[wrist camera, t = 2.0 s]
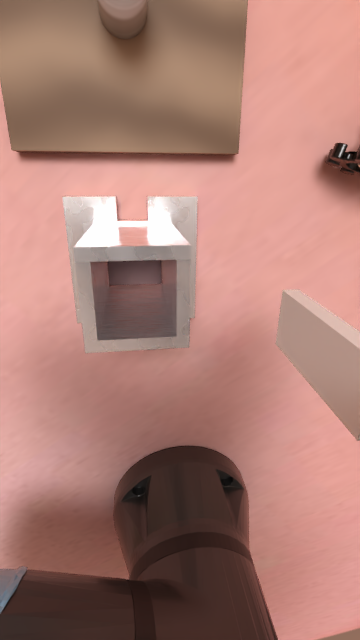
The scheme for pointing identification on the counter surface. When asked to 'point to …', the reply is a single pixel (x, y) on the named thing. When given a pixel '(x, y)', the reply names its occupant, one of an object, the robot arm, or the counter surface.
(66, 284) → the counter surface
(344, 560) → the counter surface
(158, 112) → the base board
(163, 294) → the white hollow block
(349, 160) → the valve
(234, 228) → the counter surface
